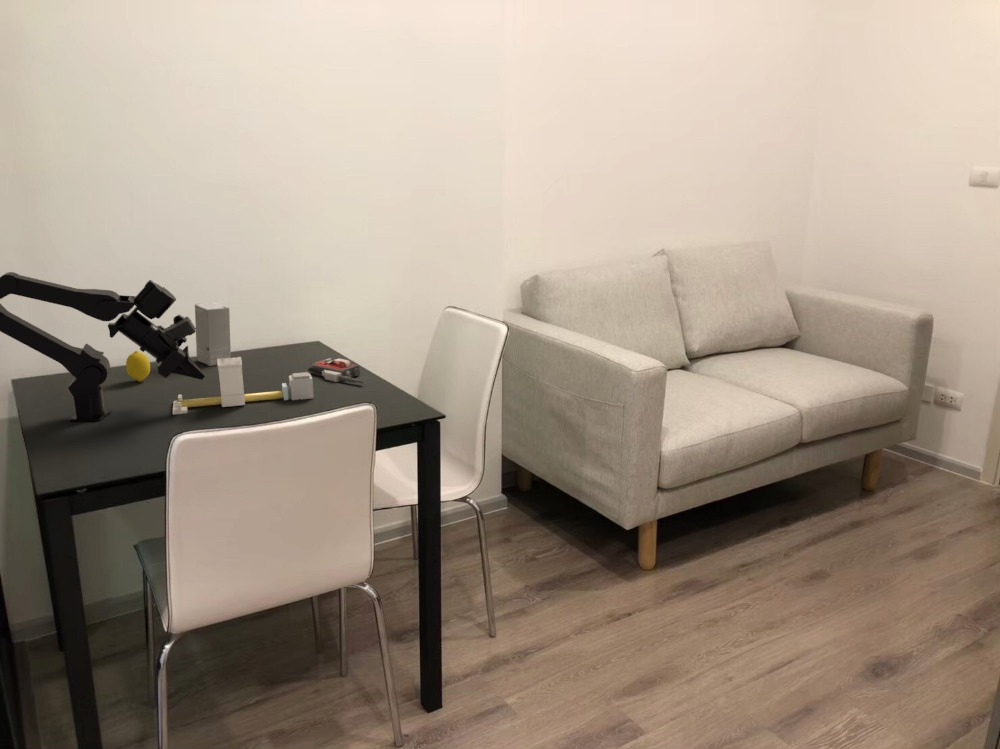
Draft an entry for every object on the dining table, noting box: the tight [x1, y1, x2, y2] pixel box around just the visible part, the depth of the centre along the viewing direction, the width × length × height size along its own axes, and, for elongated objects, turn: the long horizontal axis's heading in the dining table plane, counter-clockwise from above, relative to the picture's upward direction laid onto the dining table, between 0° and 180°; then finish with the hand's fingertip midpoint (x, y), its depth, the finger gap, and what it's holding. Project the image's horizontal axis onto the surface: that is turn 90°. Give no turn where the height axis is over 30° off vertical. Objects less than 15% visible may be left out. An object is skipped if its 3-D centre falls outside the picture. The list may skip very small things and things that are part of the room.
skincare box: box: [194, 301, 232, 367], centre depth 226 cm, size 8×7×16 cm
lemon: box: [125, 350, 151, 383], centre depth 208 cm, size 6×6×8 cm
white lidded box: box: [217, 356, 246, 408], centre depth 191 cm, size 5×7×10 cm
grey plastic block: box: [281, 371, 315, 401], centre depth 196 cm, size 7×4×5 cm, turn 109°
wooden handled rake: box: [172, 390, 284, 415], centre depth 192 cm, size 26×8×2 cm, turn 109°
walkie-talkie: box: [307, 357, 365, 384], centre depth 213 cm, size 9×4×20 cm
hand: (203, 377), depth 189 cm, fingers closed
